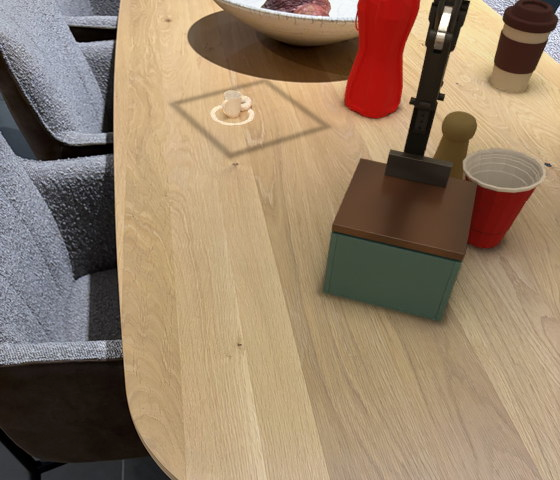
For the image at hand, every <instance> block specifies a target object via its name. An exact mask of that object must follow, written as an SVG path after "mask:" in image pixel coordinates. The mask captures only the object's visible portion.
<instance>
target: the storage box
mask: <svg viewBox="0 0 560 480" xmlns="http://www.w3.org/2000/svg"><path fill="white" fill-rule="evenodd" d="M462 264H463V261H460V260H456V259H451V258H447V257H443V256H438V255H434V254H430V253H425V252H421V251H417V250H413V249H408V248H404V247H400V246H395V245H391V244H387V243H383V242H378V241H374V240H370V239H365V238H361V237H357V236H352V235H348V234H344V233H340V232H335V231H332V230H331V233H330V238H329V245H328V252H327V257H326V265H325V273H324V278H323V279H324V280H323V286H322V293H323V294H326V295H327V294H328V295H332V296H335V297H340V298H343V299H348V300H350V301H351V300H352V301H355V302H359V303H362V304H363V303H364V304H367V305H372V306H375V307H379V308H384V309H388V310H392V311H395V312H400V313H403V314H408V315H411V316H416V317H419V318H425V319H428V320H431V321H436V322H440V323H441V322H442V319H443V316H444V313H445V311H446V308H447V305H448V303H449V300H450V297H451V295H452V292H453V289H454V286H455V283H456V280H457V278H458V275H459V273H460V270H461V267H462Z"/></svg>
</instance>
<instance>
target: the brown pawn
mask: <svg viewBox="0 0 560 480" xmlns="http://www.w3.org/2000/svg"><path fill="white" fill-rule="evenodd" d="M477 129H478V122H477V119H476V118H475V116H474V115H472V114H471V113H469V112H466V111H461V110H456V111H451V112H449V113H448V114H447V115H446V116H445V117H444V118H443V120H442V123H441V133H442V136H441V139H440V141H439V144H438V146H437V147H436V150H435V153H434V155H433V157H432V158H435V159H439V160H444V161H449V162H453V165H452V169H451V172H450V176H449V177H452V178H457V179H461V180H464V175H465V173H464V172H463V160H464V159H465V158H466V157H467V156H468V151H469V150H468V149H469V144H470V140H471V139H472V138H474V136H475V134H476V131H477Z"/></svg>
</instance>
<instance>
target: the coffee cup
mask: <svg viewBox="0 0 560 480" xmlns="http://www.w3.org/2000/svg"><path fill="white" fill-rule="evenodd" d="M501 21H502V22H503V27H502V29H501V31H500V34H499V39H498V43H497V45H496V46H497V47H496V51H495V53H494V54H495V56H494V58H493V67H492V71H491V75H490V79H489V83H490V85H491V86H492V87H494V88H495V89H496V90H498V91H501V92H506V93H513V94H514V93H517V94H518V93H522V92H524V91H525V90H526V89H527V87H528V85H529V82H530V80H531V78H532V75H533V73H534V72H535V71H536V69H537V67H538V64H539V62H540V60H541V58H542V56H543V53H544V51H545V49H546V46H547V44H548V42H549V37H550V34H551V32H554V31H555V30H556V28H557V25H558V23H559V17H558V15H557V14H555V12H554V7H553V6H552V5H551V4H550V3H549V2H546V1H543V0H517V1H516V2H515V3H514V5H509V6H507V7H506V8H504V11H503V15H502V20H501Z"/></svg>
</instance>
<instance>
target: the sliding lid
mask: <svg viewBox="0 0 560 480" xmlns="http://www.w3.org/2000/svg"><path fill="white" fill-rule="evenodd" d="M452 165H453V162H449V161H444V160H439V159H435V158H433V157H429V156H425V155H424V156H420V155H415V154H411V153H406V152H404V151H402V150H395V149H389V152H388V155H387V160H386V163H385V162H382V161H378V160H377V161H376V160H371V159H367V158H362V157H361V158H360V157H359V161H358V163H357V166H356V168H355V170H354V172H353V175H352V177H351V179H350V182H349V184H348V186H347V189H346V190H345V194H344V196H343V198H342V201H341V203H340V206H339V208H338V210H337V212H336V214H335V217H334V219H333V221H332V225H331V232H332V231H335V232H340V233H344V234H348V235H352V236H357V237H361V238H365V239H370V240H374V241H378V242H383V243H387V244H391V245H395V246H400V247H404V248H408V249H413V250H417V251H421V252H425V253H430V254H434V255H438V256H443V257H447V258H451V259H456V260H460V261H462V262H464V259H465V257H466V251H467V247H468V246H467V245H468V243H467V241H468V235H469V229H470V223H471V217H472V212H473V206H474V200H475V194H476V188H477V183H475V182H471V181H466V180H465V179H463V180H461V179H457V178H452V177H449V176H450V172H451V169H452Z"/></svg>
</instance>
